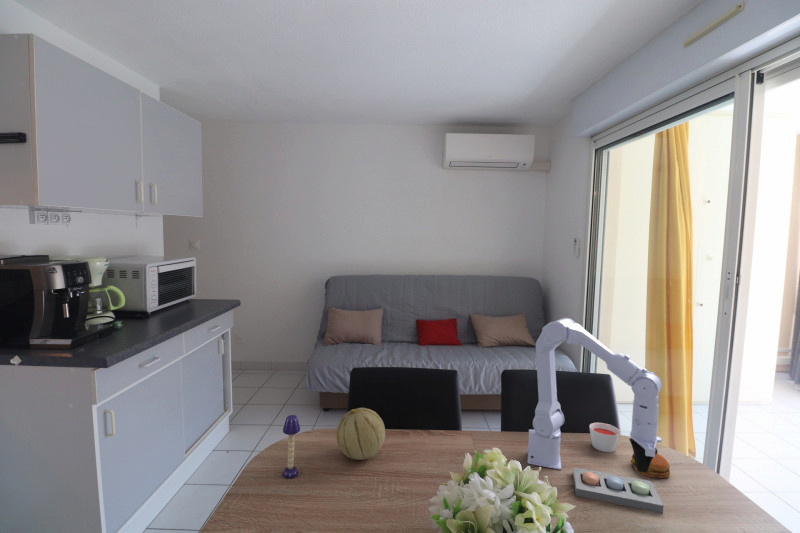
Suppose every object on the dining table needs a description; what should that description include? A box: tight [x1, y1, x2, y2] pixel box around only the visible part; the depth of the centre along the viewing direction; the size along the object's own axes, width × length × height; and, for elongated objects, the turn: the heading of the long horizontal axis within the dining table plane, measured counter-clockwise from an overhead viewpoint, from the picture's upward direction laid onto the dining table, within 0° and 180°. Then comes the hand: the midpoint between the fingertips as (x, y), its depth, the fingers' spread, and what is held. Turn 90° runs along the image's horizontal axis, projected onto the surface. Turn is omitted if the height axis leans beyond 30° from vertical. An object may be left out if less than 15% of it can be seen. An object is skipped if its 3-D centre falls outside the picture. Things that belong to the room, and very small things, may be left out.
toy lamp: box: [282, 414, 301, 479], centre depth 114 cm, size 5×5×17 cm
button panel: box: [572, 466, 664, 514], centre depth 110 cm, size 20×11×2 cm, turn 72°
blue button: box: [606, 476, 624, 491], centre depth 110 cm, size 4×4×2 cm
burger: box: [630, 452, 671, 479], centre depth 122 cm, size 10×9×5 cm
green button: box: [631, 481, 649, 496], centre depth 108 cm, size 4×4×2 cm
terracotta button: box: [581, 472, 599, 486], centre depth 112 cm, size 4×4×2 cm
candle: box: [589, 422, 621, 453], centre depth 135 cm, size 9×9×6 cm
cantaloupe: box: [335, 407, 386, 461], centre depth 125 cm, size 15×15×15 cm
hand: (641, 469), depth 108 cm, fingers closed
